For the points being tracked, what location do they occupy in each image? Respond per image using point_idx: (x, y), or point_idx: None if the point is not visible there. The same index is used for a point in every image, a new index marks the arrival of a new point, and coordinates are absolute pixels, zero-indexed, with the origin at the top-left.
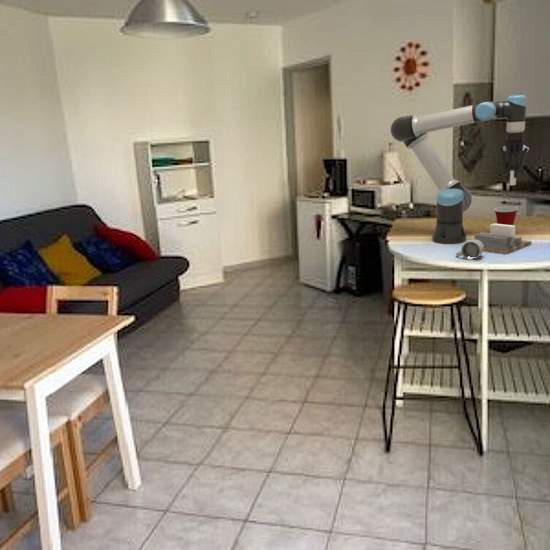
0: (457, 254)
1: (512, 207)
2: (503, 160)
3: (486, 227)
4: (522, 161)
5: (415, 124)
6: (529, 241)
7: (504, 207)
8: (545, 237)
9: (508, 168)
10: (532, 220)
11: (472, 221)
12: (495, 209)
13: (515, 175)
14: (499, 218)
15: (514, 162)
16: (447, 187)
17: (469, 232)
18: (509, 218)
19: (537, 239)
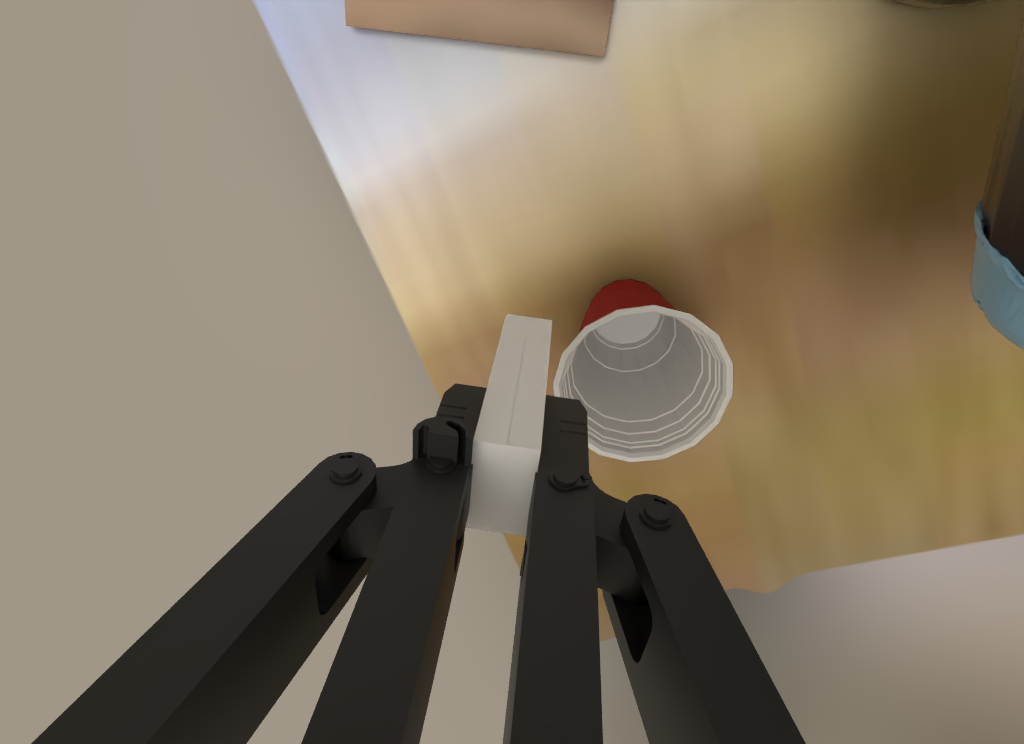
0: None
1: (612, 447)
2: (769, 692)
3: (765, 398)
4: (196, 590)
5: None
6: (351, 6)
7: (670, 444)
8: (379, 268)
9: (589, 494)
10: None
11: (876, 510)
12: (722, 380)
13: (461, 408)
14: (664, 305)
15: (426, 590)
16: None
17: (848, 226)
18: (593, 317)
19: (391, 199)
